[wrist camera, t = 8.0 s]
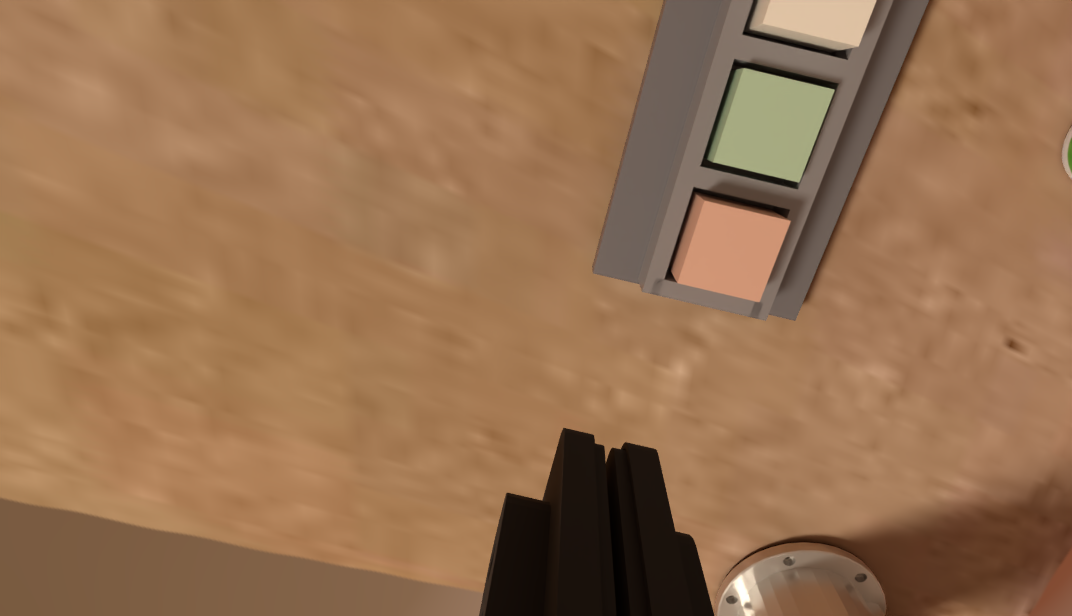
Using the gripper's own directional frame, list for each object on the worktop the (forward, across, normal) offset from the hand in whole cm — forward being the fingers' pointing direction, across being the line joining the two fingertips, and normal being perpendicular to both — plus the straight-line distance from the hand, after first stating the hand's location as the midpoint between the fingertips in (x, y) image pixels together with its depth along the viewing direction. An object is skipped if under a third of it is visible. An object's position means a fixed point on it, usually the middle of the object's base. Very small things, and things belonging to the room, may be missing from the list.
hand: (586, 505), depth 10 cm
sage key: (+26, -8, -8) cm, 28 cm away
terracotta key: (+25, -8, -1) cm, 26 cm away
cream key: (+25, -8, -14) cm, 29 cm away
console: (+27, -8, -8) cm, 29 cm away
